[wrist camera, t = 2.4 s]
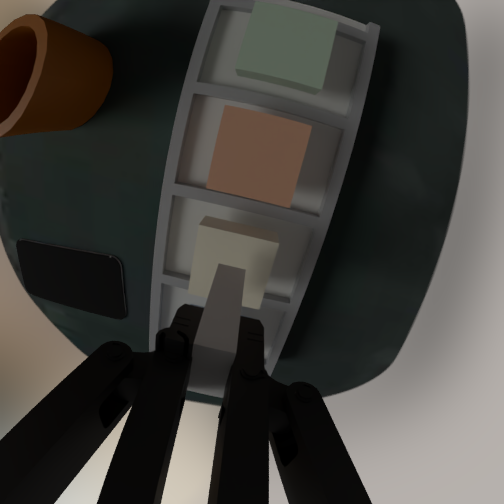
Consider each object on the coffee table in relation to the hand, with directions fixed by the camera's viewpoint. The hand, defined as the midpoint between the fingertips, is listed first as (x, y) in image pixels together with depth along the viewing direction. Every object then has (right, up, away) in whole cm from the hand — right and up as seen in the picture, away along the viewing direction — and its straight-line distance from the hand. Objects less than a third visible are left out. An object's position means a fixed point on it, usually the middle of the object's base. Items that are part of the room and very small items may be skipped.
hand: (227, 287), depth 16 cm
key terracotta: (+2, +8, +1) cm, 8 cm away
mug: (-16, +17, +2) cm, 23 cm away
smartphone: (-18, 0, +9) cm, 21 cm away
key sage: (+3, +14, -2) cm, 15 cm away
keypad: (+1, +6, +5) cm, 8 cm away
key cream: (0, +2, +4) cm, 4 cm away
